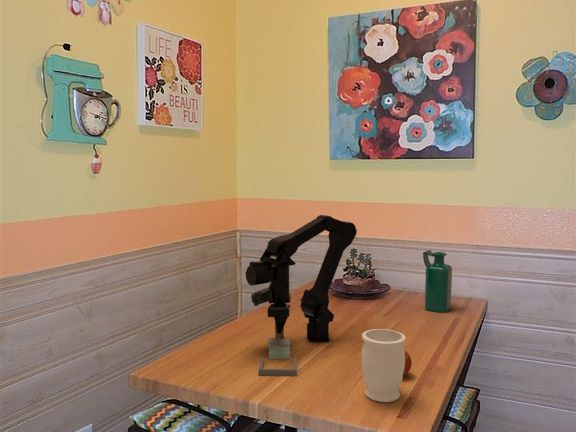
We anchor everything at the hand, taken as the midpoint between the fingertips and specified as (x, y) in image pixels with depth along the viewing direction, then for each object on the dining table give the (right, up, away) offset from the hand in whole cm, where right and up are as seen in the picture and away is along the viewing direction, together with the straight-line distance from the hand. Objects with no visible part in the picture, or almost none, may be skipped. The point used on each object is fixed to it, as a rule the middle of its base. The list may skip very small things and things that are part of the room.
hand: (279, 331), depth 160 cm
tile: (0, -6, -5) cm, 8 cm away
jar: (+26, -9, -31) cm, 41 cm away
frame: (0, -7, -14) cm, 16 cm away
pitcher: (+59, -1, +42) cm, 72 cm away
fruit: (+32, -8, -19) cm, 38 cm away
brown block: (0, -5, 0) cm, 5 cm away
